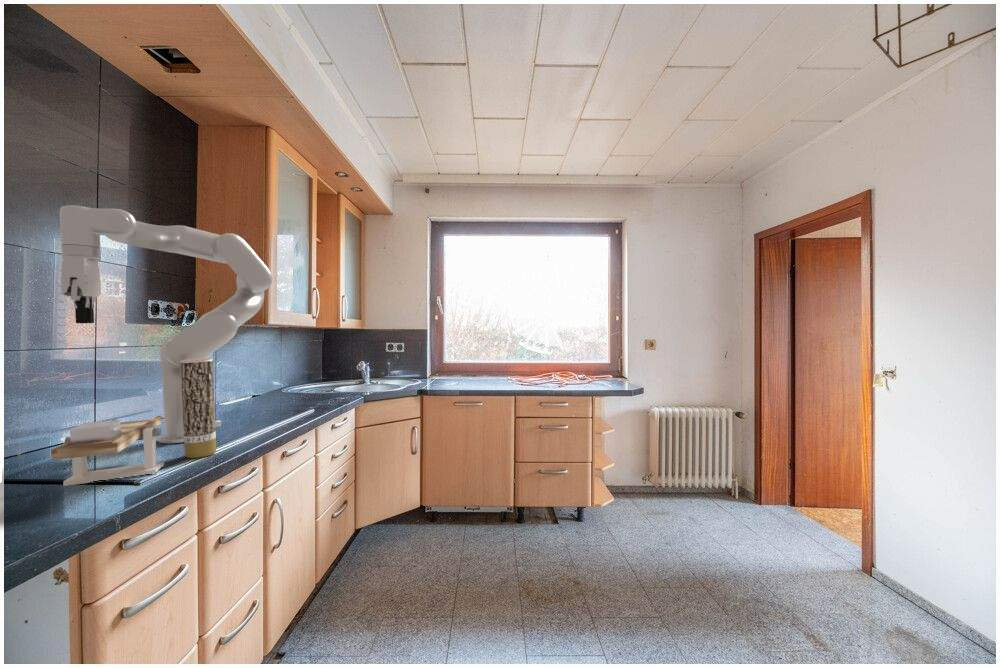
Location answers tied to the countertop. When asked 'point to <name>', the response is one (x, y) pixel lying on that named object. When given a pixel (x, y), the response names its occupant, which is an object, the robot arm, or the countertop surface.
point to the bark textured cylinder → (198, 407)
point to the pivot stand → (150, 466)
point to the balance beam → (128, 436)
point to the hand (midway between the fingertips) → (85, 323)
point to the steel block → (96, 432)
